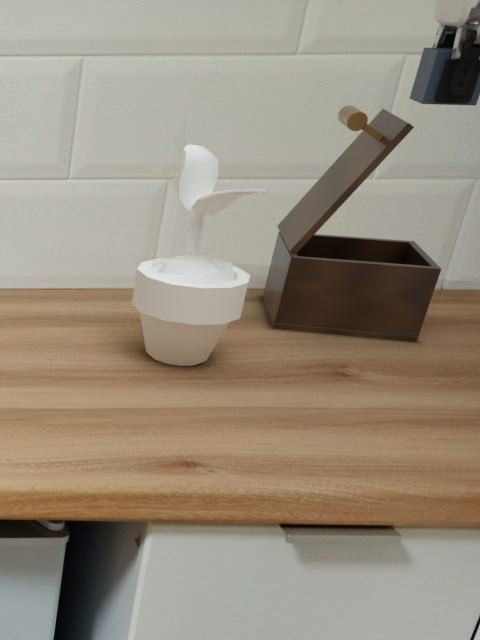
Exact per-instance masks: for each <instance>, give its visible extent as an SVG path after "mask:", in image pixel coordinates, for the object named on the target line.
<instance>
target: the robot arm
mask: <svg viewBox="0 0 480 640" xmlns="http://www.w3.org/2000/svg"><path fill="white" fill-rule="evenodd" d="M433 17H434V19H435V21H436V22H437V23H438V29H437V32H436V34H435V35H436V36H435V39H434V42H433V44H432V47H431V48H453V51H452V55H451V60H446V62H445V66H444V69H443V72H442V76H441V79H440V82H439V86H438V89H437V92H436V95H435V101H436V102H438V103H462V104H466V103H469V102H470V101H471V99H472V96H473V93H474V90H475V87H476V83H477V80H478V77H479V74H480V0H436V4H435V9H434V16H433ZM476 22H477V23H476Z"/></svg>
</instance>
